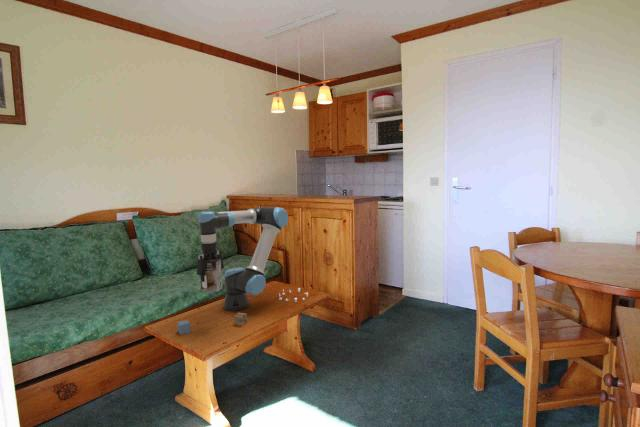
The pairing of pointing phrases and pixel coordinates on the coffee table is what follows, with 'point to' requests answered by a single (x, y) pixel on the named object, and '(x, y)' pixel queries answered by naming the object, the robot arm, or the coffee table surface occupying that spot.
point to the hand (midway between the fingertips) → (211, 285)
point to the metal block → (240, 319)
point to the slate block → (183, 327)
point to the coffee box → (213, 276)
